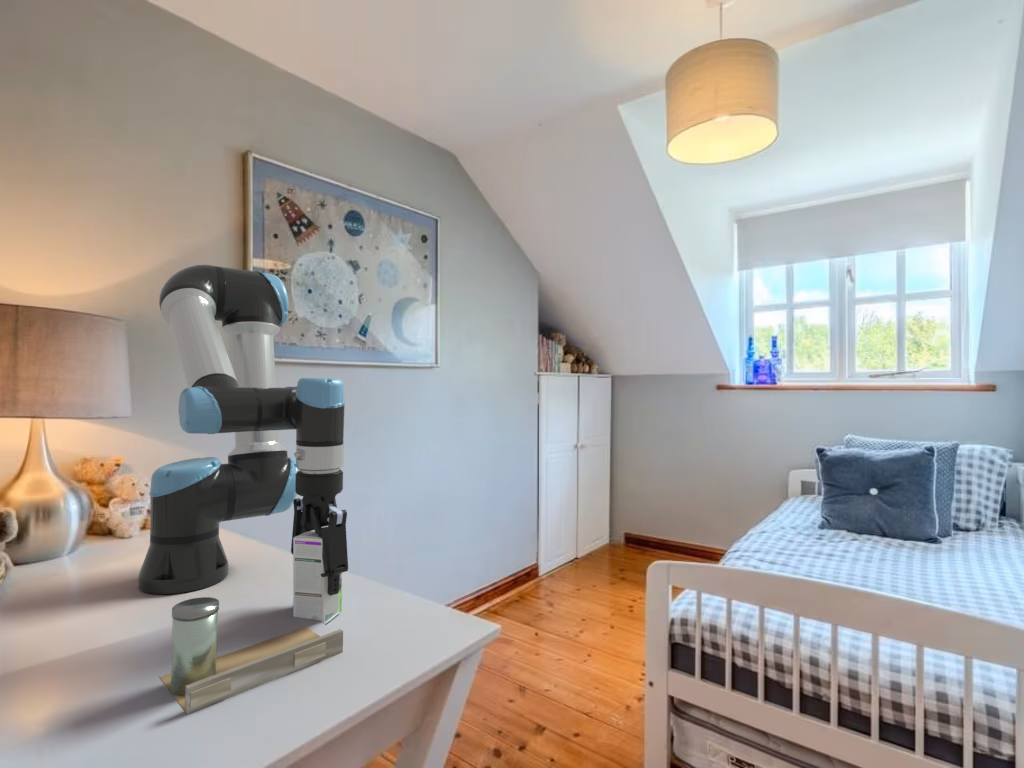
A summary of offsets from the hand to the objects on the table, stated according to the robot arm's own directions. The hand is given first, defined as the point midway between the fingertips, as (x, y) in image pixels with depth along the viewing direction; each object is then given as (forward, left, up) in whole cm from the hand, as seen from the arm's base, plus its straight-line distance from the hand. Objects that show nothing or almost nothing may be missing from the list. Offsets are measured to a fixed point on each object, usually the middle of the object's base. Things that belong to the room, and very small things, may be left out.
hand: (317, 604), depth 91 cm
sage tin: (+9, -22, -1) cm, 23 cm away
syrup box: (0, 0, -2) cm, 2 cm away
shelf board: (+10, -14, -2) cm, 17 cm away
